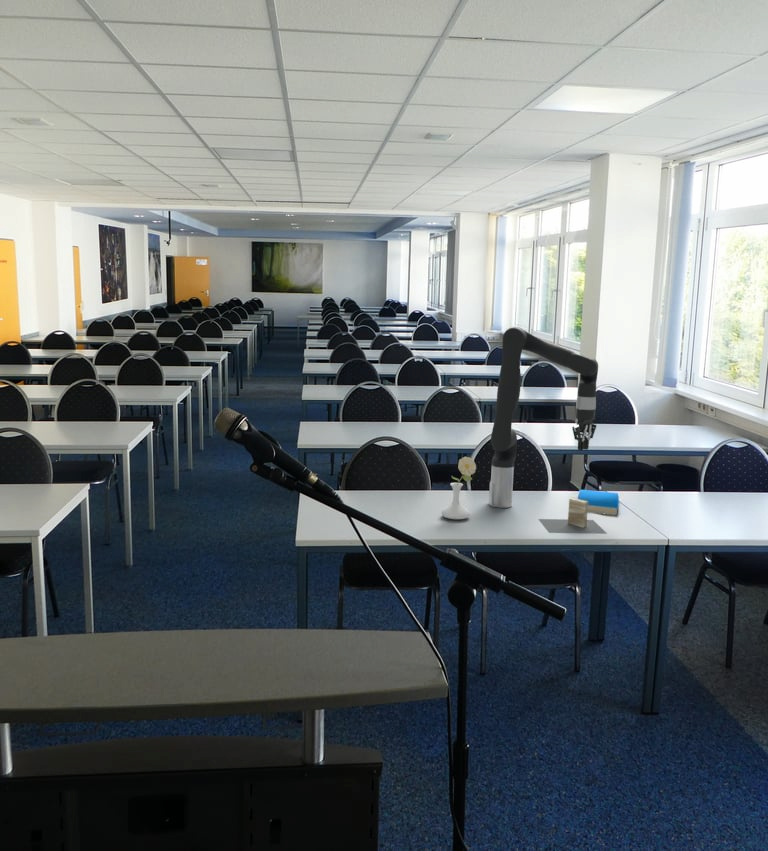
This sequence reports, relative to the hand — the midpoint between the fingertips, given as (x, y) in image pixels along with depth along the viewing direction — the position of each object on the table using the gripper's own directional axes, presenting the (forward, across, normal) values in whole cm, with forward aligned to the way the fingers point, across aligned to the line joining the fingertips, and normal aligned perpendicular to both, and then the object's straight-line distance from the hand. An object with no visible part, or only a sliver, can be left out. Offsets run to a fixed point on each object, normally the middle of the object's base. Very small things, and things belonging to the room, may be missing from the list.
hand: (582, 449), depth 318 cm
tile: (+27, +15, +10) cm, 32 cm away
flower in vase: (+27, +45, -26) cm, 58 cm away
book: (+28, -18, -3) cm, 33 cm away
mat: (+27, +18, +10) cm, 34 cm away
